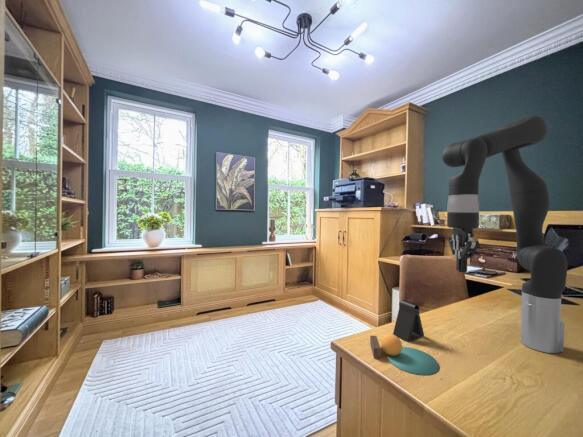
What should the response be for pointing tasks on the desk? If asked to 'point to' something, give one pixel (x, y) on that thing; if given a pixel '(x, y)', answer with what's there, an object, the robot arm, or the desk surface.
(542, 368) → the desk surface
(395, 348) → the ball
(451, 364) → the desk surface
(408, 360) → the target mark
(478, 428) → the desk surface
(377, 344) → the stop bar
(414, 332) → the phone stand
